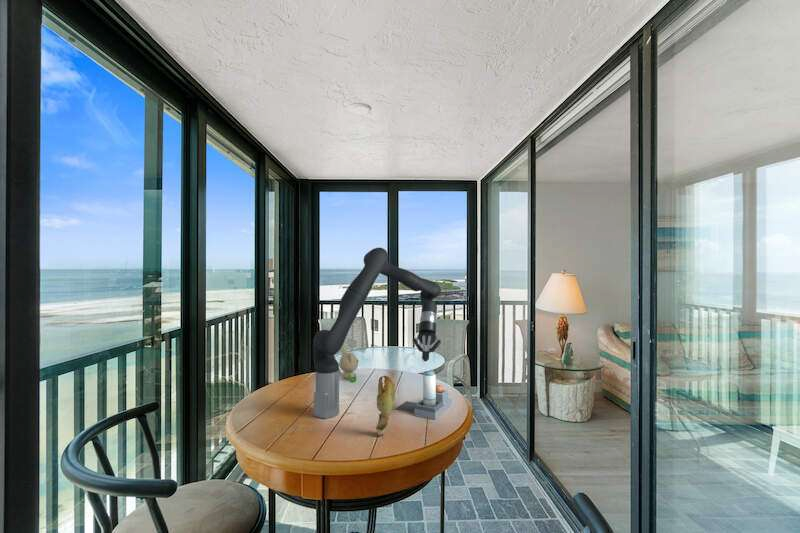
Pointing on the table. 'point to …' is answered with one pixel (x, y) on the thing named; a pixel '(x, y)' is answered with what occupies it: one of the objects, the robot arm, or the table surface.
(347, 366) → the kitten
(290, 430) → the table surface
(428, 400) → the cartridge
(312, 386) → the table surface
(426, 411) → the housing
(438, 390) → the plunger
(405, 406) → the pad
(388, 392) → the crab claw
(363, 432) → the table surface
